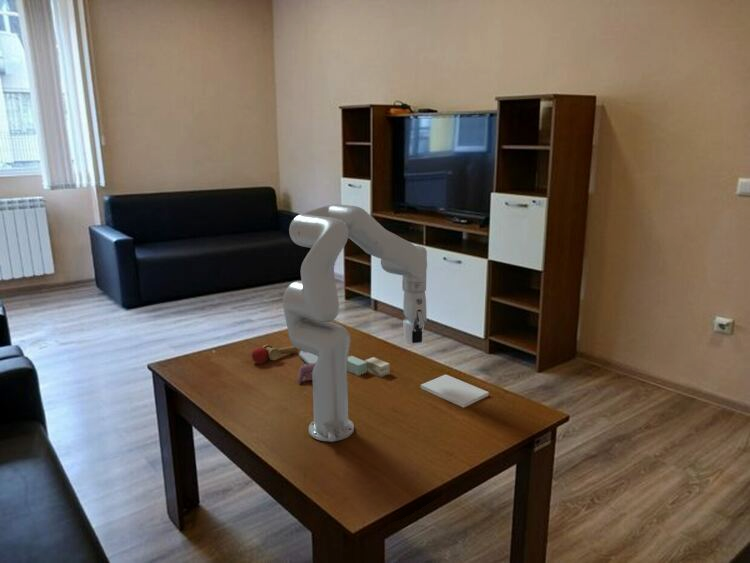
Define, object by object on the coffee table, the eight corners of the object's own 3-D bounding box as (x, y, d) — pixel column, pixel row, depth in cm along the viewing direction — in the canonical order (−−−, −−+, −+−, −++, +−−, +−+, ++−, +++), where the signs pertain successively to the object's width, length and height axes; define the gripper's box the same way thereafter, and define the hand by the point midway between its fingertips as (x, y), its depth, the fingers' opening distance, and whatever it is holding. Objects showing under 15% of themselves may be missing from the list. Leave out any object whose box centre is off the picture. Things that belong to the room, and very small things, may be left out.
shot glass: (407, 346, 187) (407, 325, 185) (399, 338, 193) (400, 318, 191) (427, 343, 189) (427, 323, 187) (419, 336, 195) (419, 316, 193)
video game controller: (328, 384, 197) (329, 363, 198) (326, 384, 192) (327, 362, 194) (299, 383, 197) (300, 362, 199) (296, 383, 193) (297, 362, 194)
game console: (337, 362, 205) (315, 367, 201) (337, 369, 206) (315, 373, 202) (317, 346, 221) (296, 349, 217) (317, 352, 221) (296, 356, 217)
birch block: (389, 374, 201) (389, 363, 200) (381, 377, 198) (381, 366, 197) (373, 367, 207) (373, 357, 205) (364, 370, 204) (364, 360, 203)
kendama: (289, 352, 224) (246, 358, 212) (292, 337, 222) (248, 342, 210) (299, 362, 218) (256, 368, 207) (302, 347, 216) (258, 352, 205)
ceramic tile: (488, 395, 185) (488, 392, 184) (463, 407, 177) (463, 404, 177) (445, 377, 198) (445, 374, 197) (420, 388, 190) (420, 384, 190)
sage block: (367, 372, 202) (367, 362, 201) (358, 376, 200) (358, 365, 199) (351, 366, 208) (351, 355, 207) (343, 369, 205) (342, 358, 204)
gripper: (435, 291, 179) (433, 347, 183) (416, 277, 195) (415, 328, 199) (411, 293, 177) (410, 349, 181) (394, 279, 193) (394, 330, 198)
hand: (413, 338), depth 190 cm, fingers closed on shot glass, 6 cm apart
